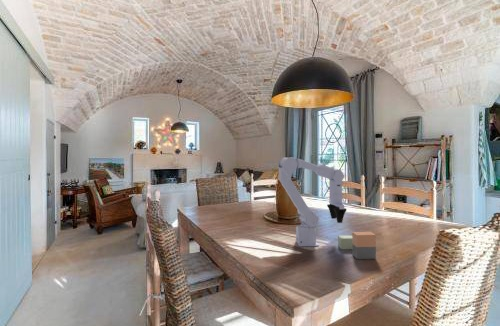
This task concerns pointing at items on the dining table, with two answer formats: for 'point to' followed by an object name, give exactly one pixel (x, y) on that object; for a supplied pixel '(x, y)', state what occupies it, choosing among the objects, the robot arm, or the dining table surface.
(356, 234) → the terracotta block
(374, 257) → the charcoal block
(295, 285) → the dining table surface
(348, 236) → the sage block
